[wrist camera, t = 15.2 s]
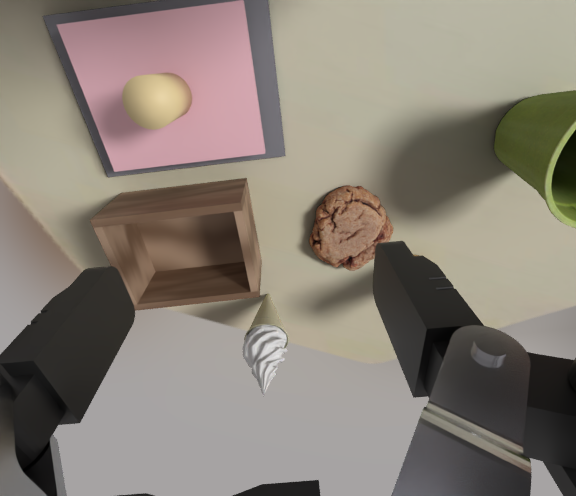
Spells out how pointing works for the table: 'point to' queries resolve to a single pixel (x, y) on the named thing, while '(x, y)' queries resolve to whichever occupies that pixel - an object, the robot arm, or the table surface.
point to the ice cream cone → (265, 343)
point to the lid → (169, 84)
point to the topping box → (183, 243)
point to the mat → (261, 62)
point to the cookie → (349, 227)
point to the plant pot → (543, 149)
